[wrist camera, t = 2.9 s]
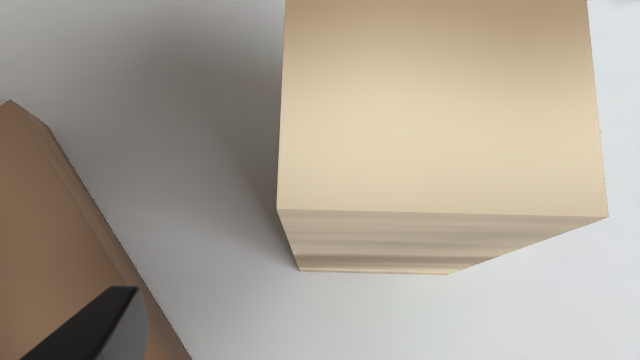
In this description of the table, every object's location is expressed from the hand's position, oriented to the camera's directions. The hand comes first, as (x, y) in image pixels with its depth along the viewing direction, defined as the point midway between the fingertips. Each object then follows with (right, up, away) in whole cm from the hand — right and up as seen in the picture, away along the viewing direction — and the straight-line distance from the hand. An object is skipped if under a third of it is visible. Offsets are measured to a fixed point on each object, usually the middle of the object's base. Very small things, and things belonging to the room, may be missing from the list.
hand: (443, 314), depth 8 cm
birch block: (0, +1, +11) cm, 11 cm away
